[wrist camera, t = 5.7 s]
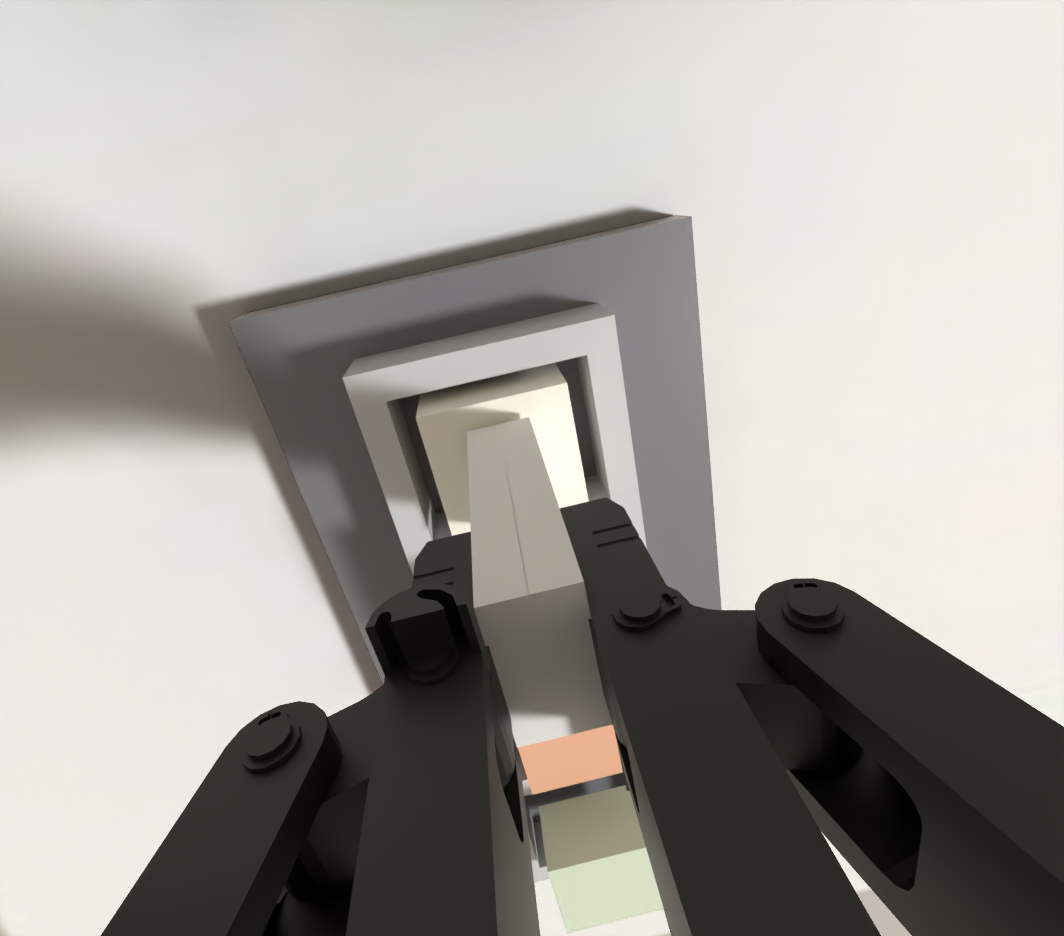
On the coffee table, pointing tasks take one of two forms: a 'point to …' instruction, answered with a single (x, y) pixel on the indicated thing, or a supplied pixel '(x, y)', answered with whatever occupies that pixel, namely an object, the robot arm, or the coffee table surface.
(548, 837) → the key sage
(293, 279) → the coffee table surface
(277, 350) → the keypad
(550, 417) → the key ivory
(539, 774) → the key terracotta
